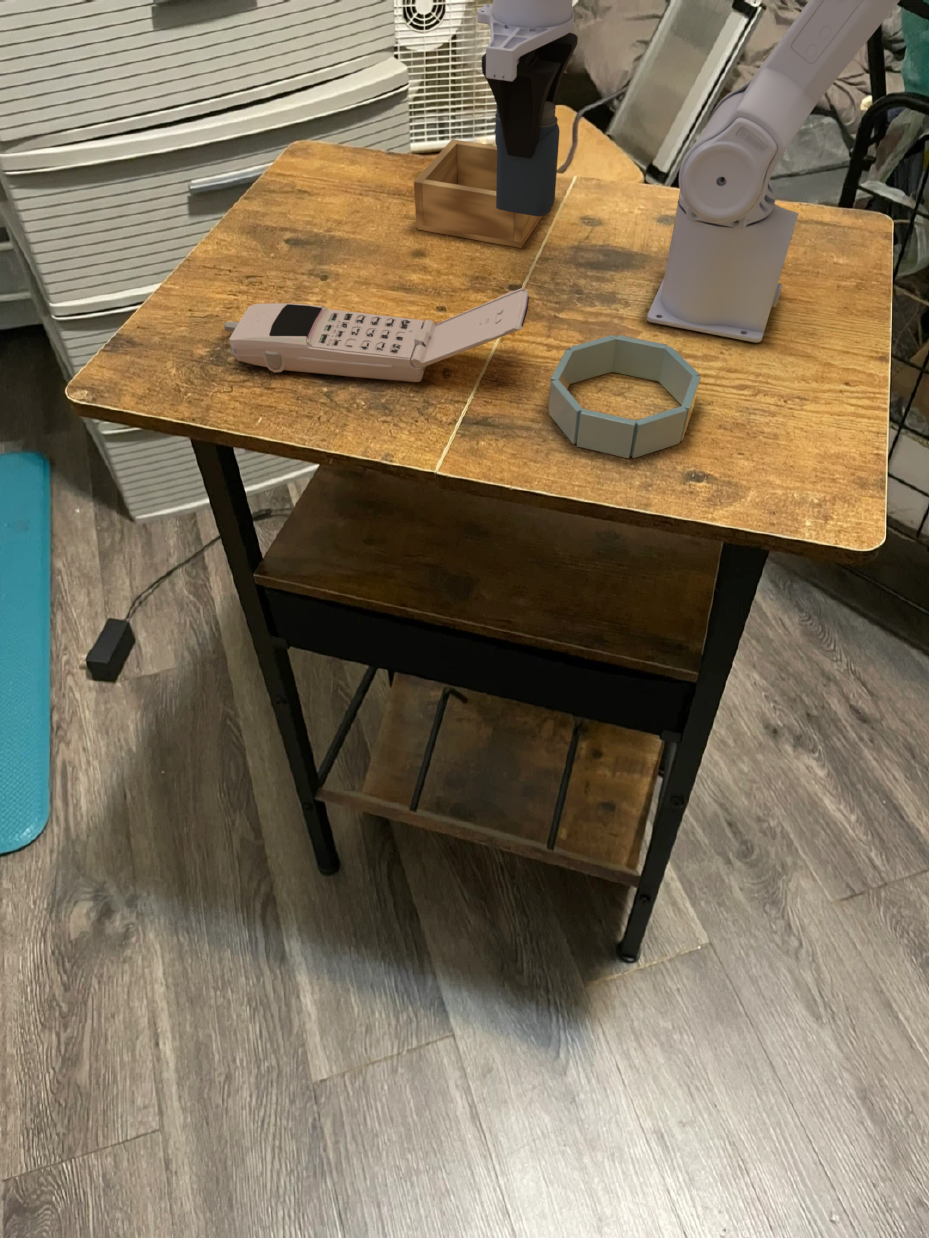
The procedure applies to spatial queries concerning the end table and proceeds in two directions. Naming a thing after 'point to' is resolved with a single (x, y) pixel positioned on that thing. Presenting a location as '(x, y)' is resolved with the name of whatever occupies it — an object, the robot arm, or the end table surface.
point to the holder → (467, 197)
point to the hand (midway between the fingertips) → (526, 147)
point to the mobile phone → (366, 338)
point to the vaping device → (529, 170)
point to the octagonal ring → (613, 430)
